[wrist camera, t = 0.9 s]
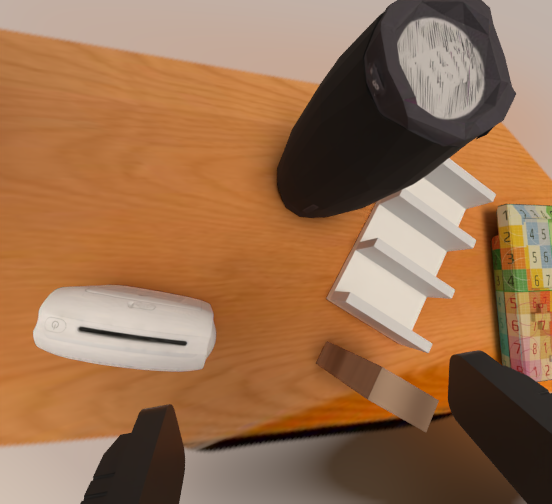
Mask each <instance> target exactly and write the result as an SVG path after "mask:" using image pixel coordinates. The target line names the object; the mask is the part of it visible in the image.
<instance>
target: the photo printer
mask: <svg viewBox="0 0 552 504" xmlns="http://www.w3.org/2000/svg"><path fill="white" fill-rule="evenodd" d="M213 318H214V314H213V311H212V308H211V305H210V304H209V303H207V302H204V301H202V300H198V299H195V298H191V297H185V296H181V295H176V294H171V293H165V292H160V291H154V290H148V289H142V288H136V287H129V286H122V285H100V286H76V287H61V288H58V289H56V290H55V291H53V292H52V293H51V294H50V295H49V296H48V297H47V298H46V300H45V301H44V302H43V304H42V305H41V307H40V309H39V317H38V321H37V324H36V326H35V328H34V331H33V337H34V342H35V344H36V346H37V347H39V348H41V349H43V350H45V351H47V352H50V353H52V354H55V355H58V356H61V357H65V358H69V359H74V360H79V361H84V362H89V363H95V364H101V365H108V366H115V367H123V368H132V369H142V370H154V371H173V372H183V371H193V370H199V369H202V368H203V367H204V364H205V360H206V358H207V357H208V356H209V354H210V353H211V351H212V350H213V348H214V345H215V341H216V328H215V324H214V321H213Z"/></svg>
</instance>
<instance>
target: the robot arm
mask: <svg viewBox="0 0 552 504" xmlns="http://www.w3.org/2000/svg"><path fill="white" fill-rule="evenodd" d="M448 403H449V407H450V409H451V412H452V414H453V416H454V418H455V419H456V421H457V422H458V423H459V424H460V426H461V427H462V428H463V429H464V430H465V431H466V433H467V434H468V435H469V436H470V437H471V439H472V440H473V441H474V442H475V443H476V444H477V446H479V448H480V449H481V450H482V451H483V452H484V454H485V455H486V456H487V457H488V458H489V459H490V461H491V462H492V463H493V464H494V465H495V466H496V468H497V469H498V470H499V471H500V472H501V473H502V474H503V476H504V477H505V478H506V479H507V480H508V482H509V483H510V484H511V485H512V486H513V487H514V489H515V490H516V491H517V492H518V493H519V494H520V496H521V497H522V498H523V499H524V500H525V501H526V502H527V504H552V393H551V394H550V393H549V392H548V390H547V389H546V388H544V387H543V386H541V385H540V384H539V383H537V382H536V381H535V380H533V379H532V378H530V377H529V376H527V375H525V374H523V373H521V372H518V371H516V370H514V369H512V368H510V367H508V366H505V365H504V366H502V365H501V364H499V363H498V362H497V361H495V360H494V359H493V358H491V357H490V356H489V355H487V354H486V353H484V352H483V351H472V352H466V353H461V354H455V355H453V356H451V358H450V365H449V386H448ZM184 471H185V453H184V446H183V442H182V438H181V434H180V430H179V426H178V422H177V418H176V414H175V411H174V408H173V406H172V405H171V404H169V405H163V406H158V407H152V408H147V409H142V410H141V412H140V413H139V415H138V418H137V420H136V423H135V425H134V428H133V430H132V433H128V434H122V435H120V436H119V437H118V438H117V440H116V441H115V442H114V443H113V444H112V445H111V447H110V448H109V449H108V450H107V451H106V452H105V454H104V455H103V457H102V459H101V461H100V463H99V465H98V468H97V470H96V472H95V474H94V476H93V481H91V483H90V485H89V487H88V489H87V491H86V493H85V495H84V501H82V502H81V504H179V501H180V495H181V489H182V484H183V478H184Z"/></svg>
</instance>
